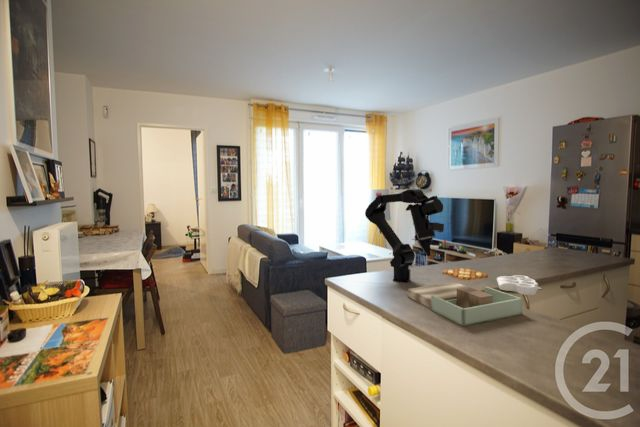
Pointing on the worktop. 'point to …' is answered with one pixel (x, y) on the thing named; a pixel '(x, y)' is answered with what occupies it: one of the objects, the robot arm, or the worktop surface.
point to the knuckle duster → (518, 284)
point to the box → (479, 308)
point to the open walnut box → (472, 297)
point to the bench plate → (434, 292)
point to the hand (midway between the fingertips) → (428, 256)
